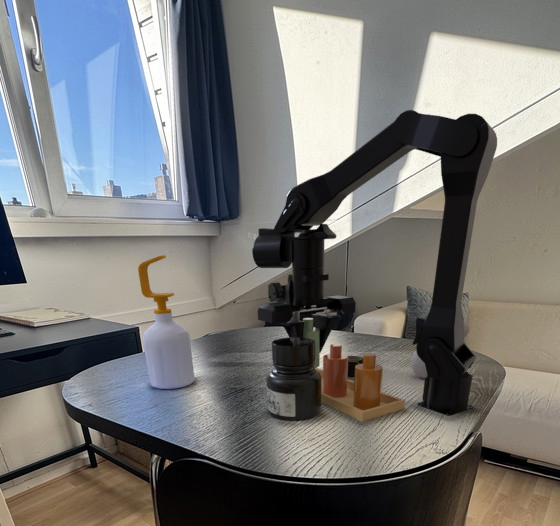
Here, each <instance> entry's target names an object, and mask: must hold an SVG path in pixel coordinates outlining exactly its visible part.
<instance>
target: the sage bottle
mask: <svg viewBox="0 0 560 526" xmlns="http://www.w3.org/2000/svg"><path fill="white" fill-rule="evenodd" d="M302 321H303V322H304V333H303V338H310V339H313V340H314V341H315V365H314V366H313V367H314V368H319V367H320V365H321V363H320V362H321V361H320V360H321V359H320V358H321V357H320V354H321V353H320V329H318V328H315V327H314V320H313V317H303V318H302Z"/></svg>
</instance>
